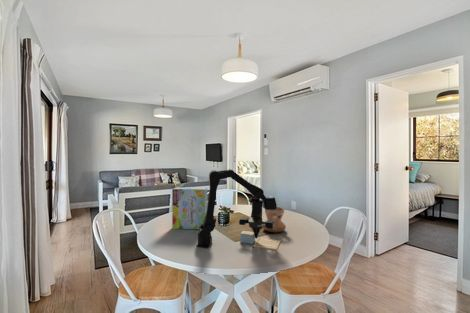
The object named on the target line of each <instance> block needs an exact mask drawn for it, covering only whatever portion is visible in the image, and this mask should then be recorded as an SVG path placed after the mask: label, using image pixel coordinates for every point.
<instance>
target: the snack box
mask: <svg viewBox="0 0 470 313" xmlns="http://www.w3.org/2000/svg"><path fill="white" fill-rule="evenodd" d="M171 190H172V191H171V195H172V197H171V198H172V201H171V202H172V203H171V205H172V208H171V209H172V215H171V216H172V217H171V219H172V220H171V222H172V226H171V227H172V228H171V229H172V230H173V229H176V230H178V229H180V230H199V227H200V226H201V225H202V224H203V221H204V218H205V215H206V212H207V205H208V187H193V186H192V187H188V186H187V187H179V186H178V187H174V188H172V189H171Z"/></svg>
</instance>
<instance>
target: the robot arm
mask: <svg viewBox="0 0 470 313" xmlns="http://www.w3.org/2000/svg"><path fill="white" fill-rule="evenodd" d="M228 178H231V179H232V180H233V181H235V182H237V183H238V184H239V185H241V186H242V187H243V188H245V189H246V190H247V191H248V192H249V193H250V195H252V196H253V197H250V198H249V199H248V203H251V214H250V217H243V216H242V217H241V218H240V219H239V222H238V225H241V226H245V225H246V224H248V227H249V228H250V229H251V230H252V232H254V235H255V239H258V237H259V235H260V231H261V230H262V229H264V228H263V227H264V225H265V227H266V228H270V229H273V227H274V221H270V220H268V219H266V220H267V221H266V220H265V221H266V222H265V221H263V209H264V211H265V210H276V207H278V206H277V201H276V197H274V196H272V197H266V195H265V194H264V190H263V188H260V187H259V186H257V185H254V184H253V183H250V182H249V181H247V180H246V178H243V176H241V175H239V174H237V173H236V172H235V171H234V170H233V169H230V168H229V169H225V170H218V171H217V170H216V169H215V170H211V171H210V172H209V173H208V182H209V184H208V185H209V188H208V189H209V190H208V196H207V212H206V215H205V218H204V221H203V224H202V225H201V226H200V227H199V229H198V233H197V244H196V245H195V246H196V247H199V248H206V249H208V248H209V247H210V246H211V245H213V236H212V232H214V229H215V228H216V223H217V217H216V216H215V215H214V213H215V206H216V197H217V189H218V186H219V184H220V181H221V180H224V179H228Z"/></svg>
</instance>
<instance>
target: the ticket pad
mask: <svg viewBox="0 0 470 313" xmlns="http://www.w3.org/2000/svg"><path fill="white" fill-rule="evenodd" d="M281 242H282V240H280V239H274V238H267V237H259V238H257V241H256V242H255V243H254V245H253V248H259V249H265V250H272V251H277V250H278V248H279V246H280V244H281Z"/></svg>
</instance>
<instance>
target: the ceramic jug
mask: <svg viewBox="0 0 470 313" xmlns="http://www.w3.org/2000/svg"><path fill="white" fill-rule="evenodd" d="M264 212H265V216H266V218H267V219H266V220H265V221H264V222H266V221H267V220H270V221H274V227H273V229H270V228H266V227H265V225H264V227H263V228H262V229H264V230H265V231H266V232H269V233H275V234H276V233H281V232H284V231H285V230H286V226H287V225H286V224H285V223H284V222H283V221H282V218H283V216H284V214H285V208H282V207H279V206H277V207H276V210H265V209H264Z"/></svg>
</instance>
